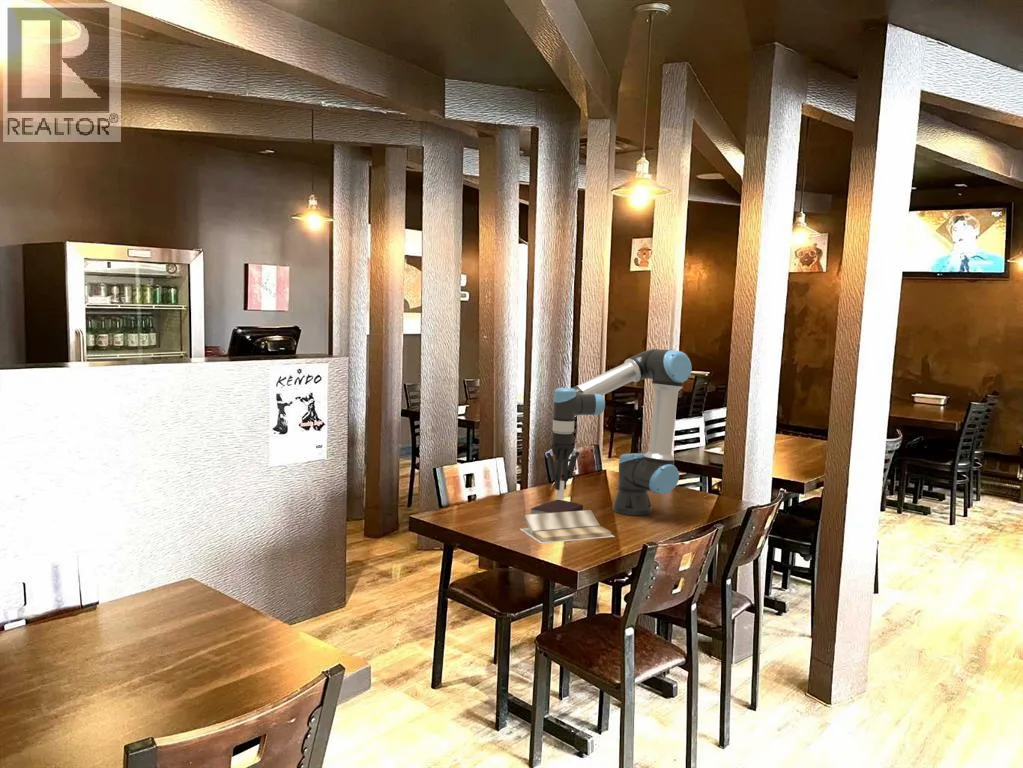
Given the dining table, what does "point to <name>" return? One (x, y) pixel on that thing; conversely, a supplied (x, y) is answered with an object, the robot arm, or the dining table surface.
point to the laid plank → (571, 534)
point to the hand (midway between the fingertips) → (559, 498)
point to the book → (557, 507)
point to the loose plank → (560, 520)
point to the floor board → (555, 541)
